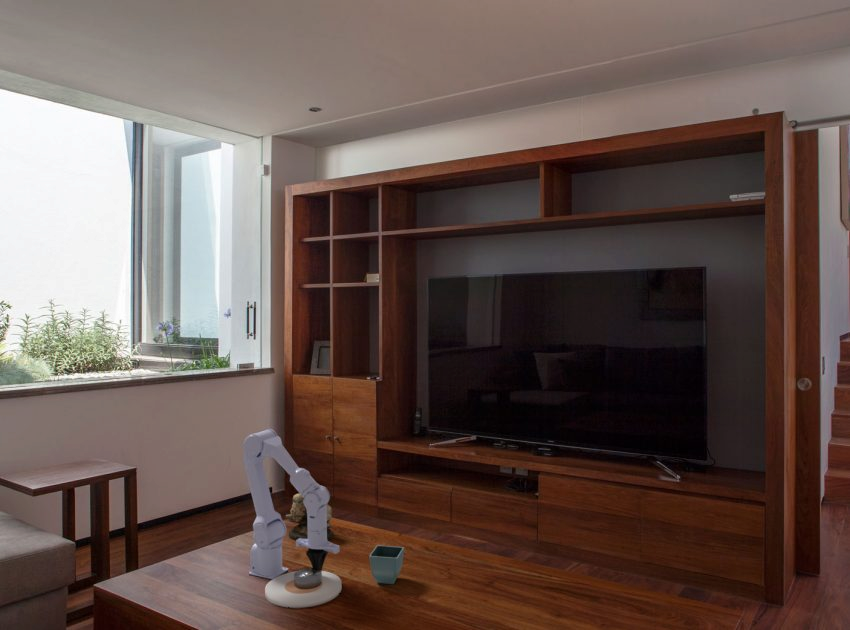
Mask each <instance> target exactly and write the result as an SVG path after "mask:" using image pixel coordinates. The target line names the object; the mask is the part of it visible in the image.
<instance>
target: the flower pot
mask: <svg viewBox="0 0 850 630" xmlns="http://www.w3.org/2000/svg"><path fill="white" fill-rule="evenodd" d="M404 551H405V547H402V546H390V545H380V544H378V545H376V546H375V547H374V549H373V550H372V551H371V552H370V554H369V563H370V570H371V574H372V577H373V579H374V580H375V582H376V583H378V584H386V585H387V584H388V585H394V584H395V582H396V580H397V579H398V577H399V575H400V572H401V569H402V567H403V562H404V553H405V552H404Z"/></svg>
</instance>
